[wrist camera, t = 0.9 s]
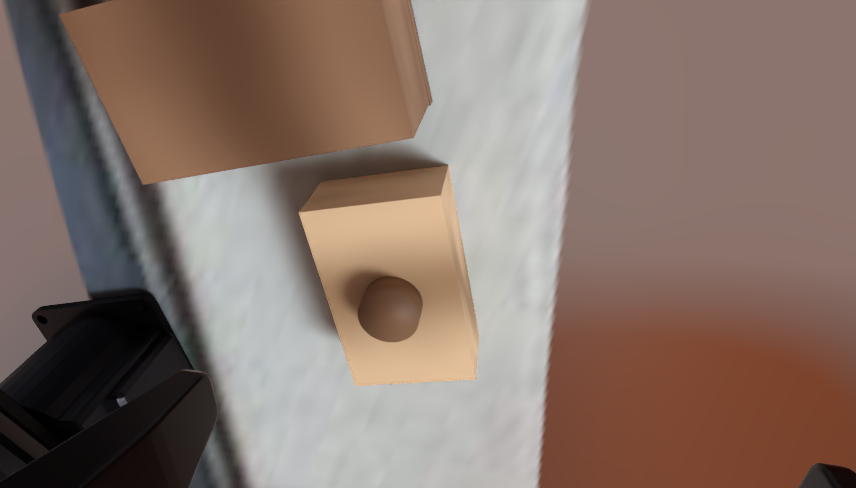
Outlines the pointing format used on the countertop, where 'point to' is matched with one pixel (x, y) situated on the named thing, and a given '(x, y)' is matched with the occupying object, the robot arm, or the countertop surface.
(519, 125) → the countertop surface
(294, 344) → the countertop surface
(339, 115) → the walnut box
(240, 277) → the countertop surface
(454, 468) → the countertop surface
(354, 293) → the oak lid
